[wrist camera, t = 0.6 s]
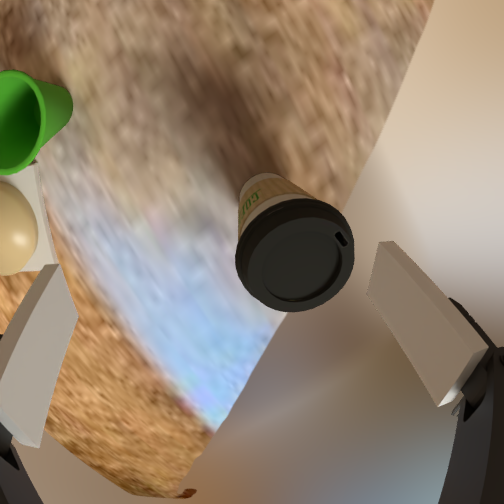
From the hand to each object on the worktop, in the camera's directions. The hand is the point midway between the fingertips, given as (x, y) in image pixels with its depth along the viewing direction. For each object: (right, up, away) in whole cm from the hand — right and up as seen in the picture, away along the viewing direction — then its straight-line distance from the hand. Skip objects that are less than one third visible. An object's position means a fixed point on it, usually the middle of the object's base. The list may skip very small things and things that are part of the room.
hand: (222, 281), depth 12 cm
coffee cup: (+3, +7, +24) cm, 26 cm away
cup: (-21, +17, +15) cm, 30 cm away
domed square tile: (-31, +5, +20) cm, 37 cm away
